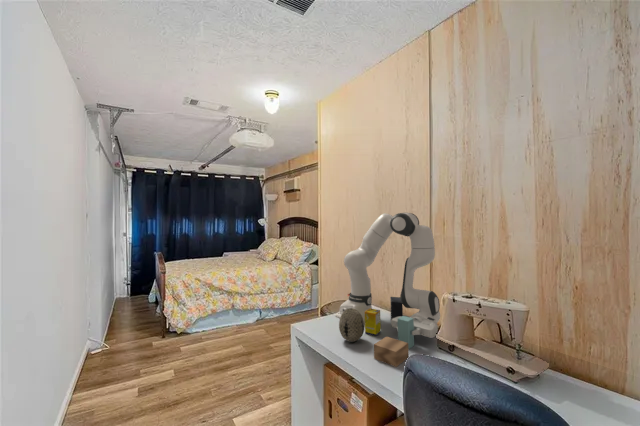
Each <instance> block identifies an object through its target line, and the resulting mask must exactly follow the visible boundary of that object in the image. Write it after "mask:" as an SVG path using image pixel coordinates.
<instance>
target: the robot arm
mask: <svg viewBox="0 0 640 426" xmlns="http://www.w3.org/2000/svg"><path fill="white" fill-rule="evenodd" d="M393 232H394V233H396V234H397V235H400V236H404V237H409V239H410V247H411V249H410V250H411V251H410V255H409V256H408V257H407V258H406V260H405V261H404V262H405V264H404V268H403V278H402V286H401V292H400V296H399V297H400V300H401V303H402V305H403V307H404V308H406V309H416V310H419V311H418V312H415V313H413V314H412V315H410V316H409V317H410V318H413V321H414V330H411V331H410V335H413V336H414V337H415V336H416V335H417V336H418V335H419V336H424V337H427V338H434V337H436V336H437V335H436V333H437V334H438V332H439V331H438V323H439V321H440V319H441V312H440V306H441V304H440V299H439V297H438V295H437V294H436V293H435V292H434V291H433V290H426V289H418V288H414V278H415V272H416V270H417V269H420V268H423V267H425V266H428V265H429V264H431V263H432V262H433V261H434V259H435V256H436V248H435V239H434V238H435V237H434V234H433V230H432V228H431V227H429V226H428V225H424V224H422V225H420V221H419V218H418V216H417V215H416V214H414V213H411V212H399V213H395V214H394V215H391V214H390V213H385V212H384V213H382V214H380V215H379V216H378V217H377V218H376V219H375V221H373V223H372V224H371V226H370V227H369V229H368V230H367V231H366V232H365V233H364V235H363V237H362V241H361V244H360V246H359V247H358V248H357V249H354V250H350V251H349V252H348V253H347V254H346V255H345V256H344V258H343V264H344V266H345V268H346V269H347V271H348V274H349V275H348V276H349V279H350V292H349V293H347V297H348V299H347V300H345V301H344V302H343V303H341V305H340V306H339V311H338V312H336V314H335V317H337V318H338V319H340V317H341V315H342V313H343V312H344V311H345V310H346V309H349V308H354V309H356V310H357V311H359V313H360V314H361V315H362V318H363V321H364V324H365V311H366V310H368V309H369V308H371V309H373V307H372V305H373V304H372V303H373V300H372V299H373V298H372V297H373V295H372V293H371V291H372V290H371V289H372V288H371V286H372V285H371V278H370V277H369V275H368V270H367V269H368V267H370V266H371V265H372V264H373V262H374V261H375V259H376V257H377V256H378V254H379V251H380V250H381V248H382V247H383V246H384V244H385V243H386V241H387V240H388V239H389V237H390V236H391V235H392V233H393ZM400 317H402V316H399V317H395V318H393V319H392V320H391V319H390V321H391V322H390V323H391V327H392V328H395V329H396V332H398V318H400Z"/></svg>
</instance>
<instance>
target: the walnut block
mask: <svg viewBox="0 0 640 426" xmlns="http://www.w3.org/2000/svg"><path fill="white" fill-rule="evenodd" d="M409 354H410V353H409V349H408V343H406V342H403V341H400V340H398V338H397V339H396V338H394V337H389V336H385V337H383V338H382V339H380V340H378V341H377V342H376V343H373V359H374V360H377V361H379V362H382V363H384V364H388V365H390V366H392V367H395V368H397V367H399V366H400V365H401V364H402V363H403V362H405V361H406V360H407V359H408V358H409Z"/></svg>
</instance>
